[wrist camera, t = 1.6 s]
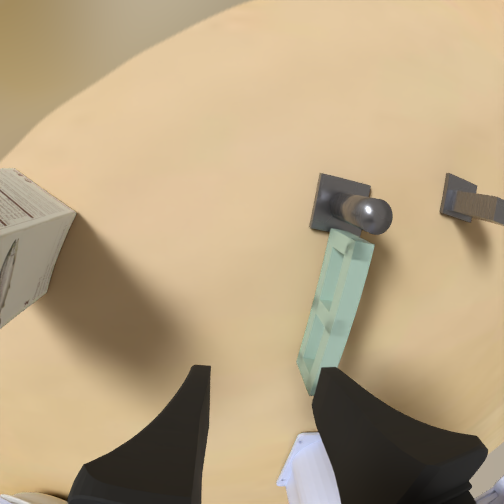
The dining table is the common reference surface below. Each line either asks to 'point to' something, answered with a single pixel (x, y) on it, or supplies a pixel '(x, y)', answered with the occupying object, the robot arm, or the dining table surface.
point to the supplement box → (27, 241)
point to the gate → (334, 304)
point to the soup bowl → (33, 498)
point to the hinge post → (348, 207)
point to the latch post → (470, 202)
